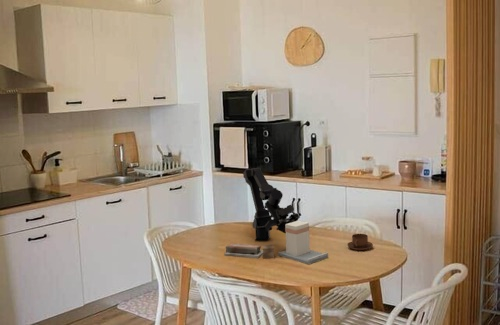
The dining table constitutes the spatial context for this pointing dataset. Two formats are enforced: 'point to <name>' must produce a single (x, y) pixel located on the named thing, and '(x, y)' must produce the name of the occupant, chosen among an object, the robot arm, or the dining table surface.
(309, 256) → the podium
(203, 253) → the dining table surface
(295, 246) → the carton
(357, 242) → the cup and saucer
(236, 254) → the packaged product
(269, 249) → the walnut block
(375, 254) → the dining table surface
